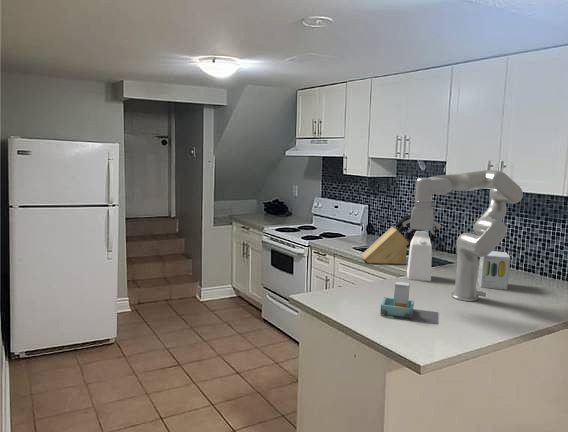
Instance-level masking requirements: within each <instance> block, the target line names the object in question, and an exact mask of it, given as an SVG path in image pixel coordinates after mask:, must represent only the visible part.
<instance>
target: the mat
mask: <svg viewBox="0 0 568 432" xmlns="http://www.w3.org/2000/svg"><path fill="white" fill-rule="evenodd" d="M382 316H383V318H389V319H396V320H405V321H410V322H419V323H427V324H433V325H439V312H438V311H432V310H423V309H415V308H413V314H412V318H408V319H406V318H405V317H398V316H390V315H386V316H384V315H382Z"/></svg>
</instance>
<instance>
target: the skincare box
mask: <svg viewBox="0 0 568 432" xmlns="http://www.w3.org/2000/svg"><path fill="white" fill-rule="evenodd" d="M410 285H411V284H410V283H409V282H402V281H401V282H400V281H395V284H394V291H393V292H394V293H393V298H394V304H393V306H397V307H405V308H408V300H410V299H409V298H410V297H409V296H410Z"/></svg>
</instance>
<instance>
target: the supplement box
mask: <svg viewBox="0 0 568 432" xmlns="http://www.w3.org/2000/svg"><path fill="white" fill-rule="evenodd" d="M510 264H511V256H510V255H509V254H508V253H507V252H505V251H496V250H492V251H491V253H489V254H488V255H487V256H485V257H479V262H478V272H477V282H478V284H479V286H480V288H483V289H484V288H486V289H494V290H495V289H496V290H505V291H507V290H508V284H509V278H510V277H509V275H510V266H511V265H510Z"/></svg>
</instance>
